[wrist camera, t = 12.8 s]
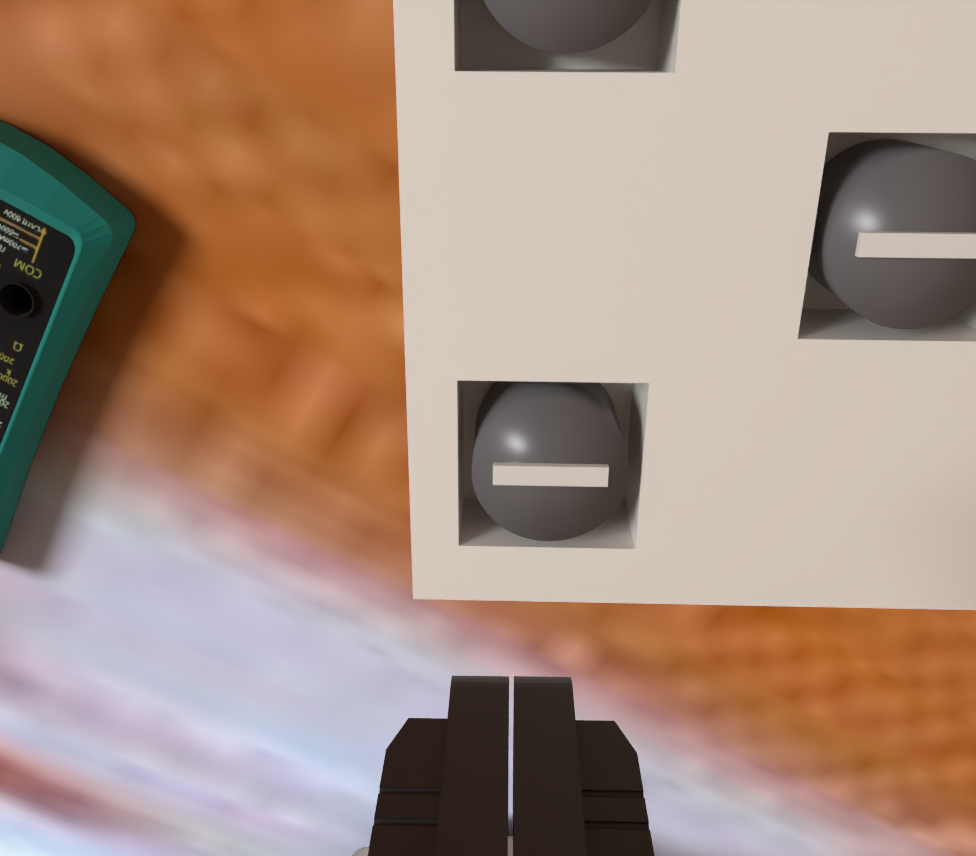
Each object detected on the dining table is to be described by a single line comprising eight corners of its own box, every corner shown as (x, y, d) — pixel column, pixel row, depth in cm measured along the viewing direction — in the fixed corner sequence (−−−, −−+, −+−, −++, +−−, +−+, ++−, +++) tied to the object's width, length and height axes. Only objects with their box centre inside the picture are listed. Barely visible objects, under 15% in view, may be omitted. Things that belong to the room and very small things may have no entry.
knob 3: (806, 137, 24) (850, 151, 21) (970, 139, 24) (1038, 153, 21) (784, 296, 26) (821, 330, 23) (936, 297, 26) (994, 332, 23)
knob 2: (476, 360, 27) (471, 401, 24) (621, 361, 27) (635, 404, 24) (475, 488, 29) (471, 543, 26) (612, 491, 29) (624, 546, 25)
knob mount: (404, -245, 22) (383, -302, 18) (1104, -245, 21) (1226, -304, 18) (425, 532, 31) (413, 598, 27) (922, 541, 30) (978, 610, 27)
